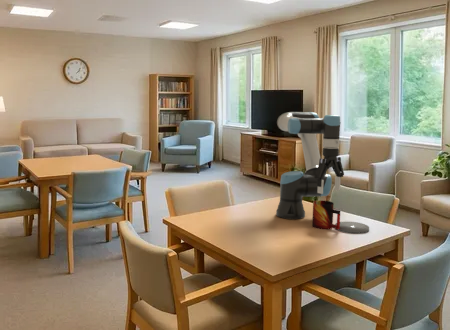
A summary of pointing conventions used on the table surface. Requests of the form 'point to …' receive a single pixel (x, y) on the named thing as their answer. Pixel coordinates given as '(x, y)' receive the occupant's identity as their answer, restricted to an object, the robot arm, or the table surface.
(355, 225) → the plate
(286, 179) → the robot arm
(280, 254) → the table surface
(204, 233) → the table surface
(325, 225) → the mug
